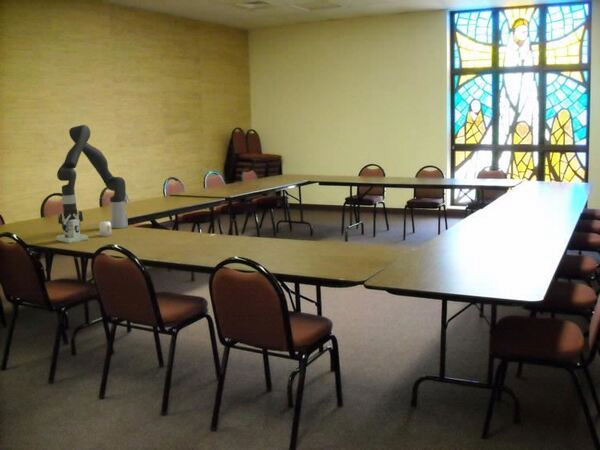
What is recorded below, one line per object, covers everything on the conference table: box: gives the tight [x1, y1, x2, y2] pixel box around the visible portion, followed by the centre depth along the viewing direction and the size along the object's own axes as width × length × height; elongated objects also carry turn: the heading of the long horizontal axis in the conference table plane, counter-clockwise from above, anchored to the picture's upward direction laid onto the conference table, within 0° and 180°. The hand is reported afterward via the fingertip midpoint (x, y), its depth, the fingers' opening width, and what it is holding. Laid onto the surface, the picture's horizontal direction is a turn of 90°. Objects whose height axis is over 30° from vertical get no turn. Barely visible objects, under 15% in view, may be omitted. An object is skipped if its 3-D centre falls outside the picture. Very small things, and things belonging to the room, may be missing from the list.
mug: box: [98, 221, 113, 237], centre depth 398 cm, size 7×9×8 cm
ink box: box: [63, 218, 81, 238], centre depth 385 cm, size 9×5×12 cm, turn 59°
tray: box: [56, 233, 89, 244], centre depth 386 cm, size 12×16×3 cm
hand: (71, 229), depth 385 cm, fingers open, 8 cm apart
